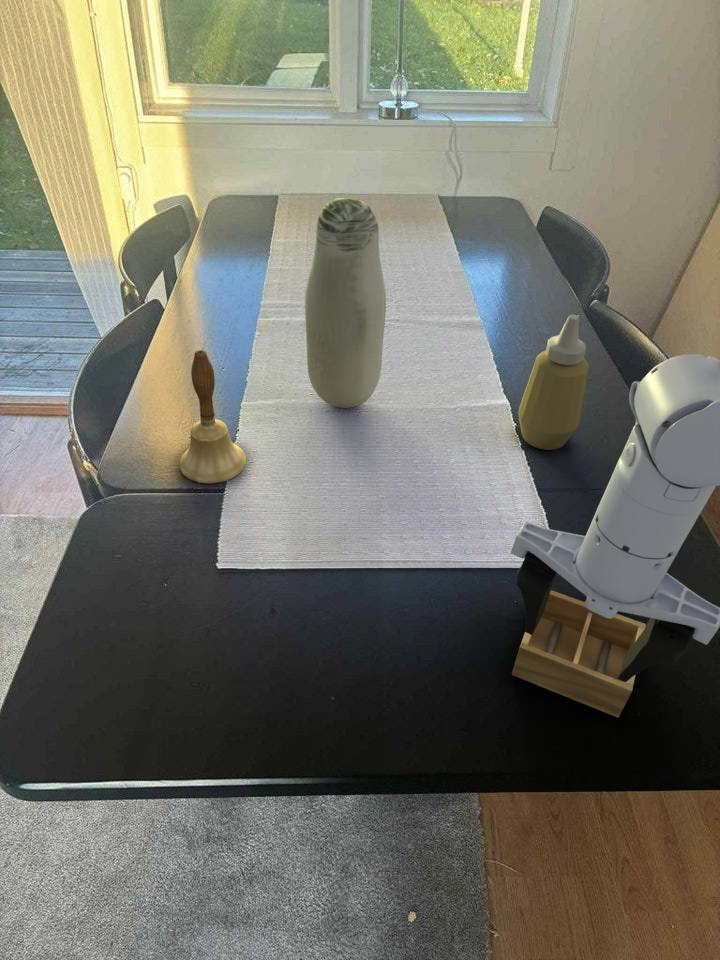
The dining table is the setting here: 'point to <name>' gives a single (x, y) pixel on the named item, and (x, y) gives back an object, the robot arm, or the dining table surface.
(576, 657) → the cutlery caddy
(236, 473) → the hand bell
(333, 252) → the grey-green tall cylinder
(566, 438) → the squeeze bottle
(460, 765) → the dining table surface
